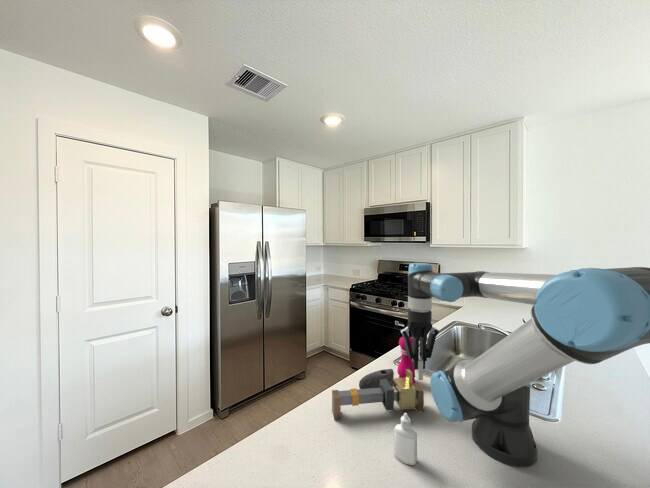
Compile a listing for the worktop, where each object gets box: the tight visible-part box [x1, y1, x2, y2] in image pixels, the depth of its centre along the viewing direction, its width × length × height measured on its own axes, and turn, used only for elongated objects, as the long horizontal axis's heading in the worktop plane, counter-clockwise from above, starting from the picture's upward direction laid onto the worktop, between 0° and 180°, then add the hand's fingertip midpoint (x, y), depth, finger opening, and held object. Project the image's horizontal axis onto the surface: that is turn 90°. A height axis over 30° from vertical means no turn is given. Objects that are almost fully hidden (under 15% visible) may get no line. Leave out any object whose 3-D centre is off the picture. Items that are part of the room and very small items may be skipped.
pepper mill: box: [396, 334, 416, 384], centre depth 105 cm, size 7×7×20 cm
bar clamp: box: [331, 383, 425, 421], centre depth 88 cm, size 30×4×7 cm, turn 98°
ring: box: [380, 379, 395, 412], centre depth 88 cm, size 2×7×7 cm, turn 8°
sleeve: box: [392, 369, 415, 410], centre depth 89 cm, size 5×7×11 cm
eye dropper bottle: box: [393, 412, 418, 466], centre depth 69 cm, size 4×6×12 cm
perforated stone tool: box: [358, 368, 395, 389], centre depth 100 cm, size 15×5×7 cm, turn 105°
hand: (418, 377), depth 90 cm, fingers closed
